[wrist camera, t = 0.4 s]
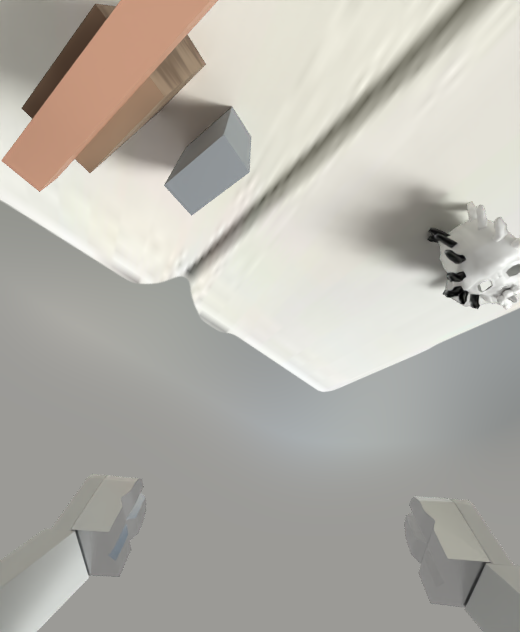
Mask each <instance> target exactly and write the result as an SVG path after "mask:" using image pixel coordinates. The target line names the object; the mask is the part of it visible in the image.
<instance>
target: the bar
mask: <svg viewBox="0 0 520 632" xmlns="http://www.w3.org/2000/svg"><path fill="white" fill-rule="evenodd" d="M217 1H218V0H121V1H120V2H119V3H118V5H117V6H116V8H115V9H114V10H113V12H112V13H111V14H110V16H109V17H108V18H107V20H106V21H105V22H104V24H103V25H102V26H101V28H100V29H99V30H98V32H97V33H96V34H95V36H94V37H93V38H92V40H91V41H90V42H89V44H88V45H87V46H86V48H85V49H84V50H83V52H82V53H81V54H80V56H79V57H78V59H77V60H76V61H75V63H74V64H73V65H72V67H71V68H70V69H69V71H68V72H67V73H66V75H65V76H64V77H63V79H62V80H61V81H60V83H59V84H58V85H57V87H56V88H55V89H54V91H53V92H52V93H51V95H50V96H49V97H48V99H47V100H46V101H45V103H44V104H43V106H42V107H41V108H40V110H39V111H38V112H37V114H36V115H35V116H34V118H33V119H32V120H31V122H30V123H29V124H28V126H27V127H26V128H25V130H24V131H23V132H22V134H21V135H20V136H19V138H18V139H17V140H16V142H15V143H14V144H13V146H12V147H11V148H10V150H9V151H8V152H7V154H6V155H5V157H4V158H3V159H2V162H4V163H5V164H6V165H7V166H9V167H10V168H11V169H12V170H13V171H15V172H16V173H17V174H18V175H20V176H21V177H22V178H23V179H25V180H26V181H27V182H28V183H29V184H31V185H32V186H33V187H34V188H36V189H37V190H38V191H39V192H40V191H41V190H42V189H44V188H45V187H46V186H48V185H49V184H50V183H52V182H53V181H54V180H55V179H57V178H58V177H59V175H60V174H61V173H62V172H63V171H64V170H65V169H66V168H67V167H68V165H69V164H70V163H71V162H72V161H73V160H74V159H75V158H76V157H77V156H78V154H79V153H80V152H81V151H82V150H83V149H84V148H85V147H86V146H87V144H88V143H89V142H90V141H91V140H92V139H93V138H94V137H95V136H96V135H97V133H98V132H99V131H100V130H101V129H102V128H103V127H104V126H105V125H106V124H107V122H108V121H109V120H110V119H111V118H112V117H113V116H114V115H115V114H116V112H117V111H118V110H119V109H120V108H121V107H122V106H123V105H124V104H125V103H126V101H127V100H128V99H129V98H130V97H131V96H132V95H133V94H134V93H135V91H136V90H137V89H138V88H139V87H140V86H141V85H142V84H143V83H144V82H145V80H146V79H147V78H148V77H149V76H150V75H151V74H152V73H153V72H154V71H155V69H156V68H157V67H158V66H159V65H160V64H161V63H162V62H163V61H164V59H165V58H166V57H167V56H168V55H169V54H170V53H171V52H172V51H173V50H174V48H175V47H176V46H177V45H178V44H179V43H180V42H181V41H182V40H183V38H184V37H185V36H186V35H187V34H188V33H189V32H190V31H191V30H192V29H193V27H194V26H195V25H196V24H197V23H198V22H199V21H200V20H201V19H202V18H203V16H204V15H205V14H206V13H207V12H208V11H209V10H210V9H211V8H212V6H213V5H214V4H215V3H216V2H217Z"/></svg>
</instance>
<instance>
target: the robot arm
mask: <svg viewBox="0 0 520 632" xmlns="http://www.w3.org/2000/svg"><path fill="white" fill-rule="evenodd" d="M142 489H143V482H142V479H139V478H129V477H119V476H109V475H96V474H92V475H91V476H89V477H88V478H87V479H86V480H85V482H84V483H83V484H82V486H81V487H80V489H79V490H78V491H77V493H76V494H75V496H74V497H73V498H72V500H71V501H70V503H69V504H68V505H67V507H66V508H65V510H64V511H63V512H62V514H61V515H60V516H59V518H58V519H57V521H56V522H55V524H54V525H53V526H52V528H51V529H45V530H43V531H41V532H40V533H39V534H37V535H36V536H34V537H33V538H32V539H30V540H28V541H27V542H26V543H24V544H23V545H21V546H20V547H18V548H17V549H16V550H14V551H13V552H11V553H10V554H9V555H7V556H6V557H4V558H3V559H1V560H0V632H37V631H38V629H40V628H41V627H42V625H43V624H44V623H45V622H46V621H47V620H48V619H49V618H50V617H51V616H52V615H53V614H54V613H55V612H56V611H57V610H58V609H59V608H60V607H61V606H62V605H63V604H64V603H65V602H66V601H67V600H68V599H69V598H70V597H71V596H72V594H73V593H74V592H75V591H76V590H77V589H78V588H79V587H80V586H81V585H82V584H83V583H84V582H85V581H86V580H87V579H88V578H89V576H88V575H93V576H112V577H119V576H120V574H121V572H122V570H123V568H124V565H125V563H126V561H127V558H128V556H129V554H130V551H131V545H130V540H131V539H132V538H133V537H134V536H135V535H137V534H138V533H139V530H140V528H141V526H142V523H143V520H144V515H145V512H146V499H145V496H144V495H143V494H142V493H141V491H142ZM410 508H411V510H412V512H411V513H409V514H408V515H407V516H406V520H405V524H404V526H405V536H406V540H407V544H408V547H409V549H410V552H411V554H412V555H413V556H414V558H416V559H417V561H418V562H420V569H419V575H420V578H421V581H422V583H423V586H424V588H425V590H426V593H427V596H428V598H429V601H430V603H431V604H440V605H448V606H456V607H465V611H466V612H467V613H468V614H469V615H470V617H471V618H472V619H473V620H474V621H475V623H476V624H477V625H478V626H479V627H480V629H481V630H482V631H483V632H520V566H518V565H514V564H513V563H512V561H511V560H510V558H509V557H508V555H507V554H506V552H505V551H504V550H503V548H502V546H501V545H500V543H499V542H498V541H497V539H496V538H495V536H494V535H493V533H492V532H491V530H490V529H489V527H488V526H487V524H486V523H485V521H484V520H483V518H482V517H481V515H480V514H479V512H478V511H477V509H476V508H475V506H474V505H473V504H472V503H471V502H470V501H469V500H459V499H448V498H432V497H413V498H412V499H411V501H410Z"/></svg>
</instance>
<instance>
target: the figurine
mask: <svg viewBox="0 0 520 632" xmlns="http://www.w3.org/2000/svg"><path fill="white" fill-rule="evenodd" d="M467 210H468V216H469V220H468V221H466V222H464V223H462V224H461V225H459V226H457V227H456V228H454V229H453V230H452V231H450V232H449V233H448V234H447V233H445V232H443V231H441V230H438V229H435V228H430V229H429V231H428V232H429V233H431V234H432V235H431V236H430V237H429V238H428V239H427V240H429V241H431V242H432V241H434V242H437V243H439V245H440V252H441V254H440V260H441V262H442V265H443V267H444V269H445V270H446V271H447V273H448V274H447V278H448V281H447V283H446V287H445V291H444V293H443V295H445V296H446V297H449V298H452V299H453V300H455V301H457V302H458V303H460V304H462V305H463V306H465V307H467V306H471V307H472V308H476V309H478V308H479V306H480V305H483V304H488V303H491V304H494V303H497V304H499V305H502V306H503V307H504V308H505V309H508V308H510V307H511V301H512V302H514V303H516V302H518V297H517V296H516V295H517V294H518V293H519V292H520V237H519V238H515V237H514V236H513V235H512V234H511V233H510V232H509V231H508V230H507V226H506V225H507V224H506V223H505V222H504V220H503V219H502V217H498V218H496V219H495V221H494V222H493V221H490V220H487V217H486V211H485V208H484V206H483V205H479V206H478V207H477V206H476V207H475V205H474V203H473V202H469V203H468V204H467ZM488 280H489V281H491V283H492V285H491V286H490V287H489V288H487V289H486V290H485V291H482V290H481V287H480V285H479V284H481V283H482V282H485V281H488ZM507 285H508V286H507ZM502 287H503V288H502ZM501 288H502V289H501Z"/></svg>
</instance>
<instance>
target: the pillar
mask: <svg viewBox="0 0 520 632" xmlns="http://www.w3.org/2000/svg"><path fill="white" fill-rule="evenodd" d="M115 8H116V6H109V5H101V4H95V5H94V6H93V8H92V9H91V11H90V12H89V13H88V15H87V16H86V18H85V19H84V21H83V22H82V23H81V25H80V26H79V28H78V29H77V30H76V32H75V33H74V35H73V36H72V38H71V39H70V40H69V42H68V43H67V45H66V46H65V47H64V49H63V50H62V52H61V53H60V55H59V56H58V57H57V59H56V60H55V62H54V63H53V64H52V66H51V67H50V69H49V70H48V71H47V73H46V74H45V76H44V77H43V79H42V80H41V81H40V83H39V84H38V86H37V87H36V88H35V90H34V91H33V93H32V94H31V96H30V97H29V98H28V100H27V101H26V103H25V104H24V105H23V107H22V109H23V110H24V111H25V112H26V113H27V114H28V115H29V116H30V117H31V118H32V119H33V118H34V116H35V115H36V114H37V112H38V111H39V110H40V108H41V107H42V106H43V104H44V103H45V101H46V100H47V99H48V97H49V96H50V95H51V93H52V92H53V91H54V89H55V88H56V87H57V85H58V84H59V83H60V81H61V80H62V79H63V77H64V76H65V75H66V73H67V72H68V71H69V69H70V68H71V67H72V65H73V64H74V63H75V61H76V60H77V59H78V57H79V56H80V54H81V53H82V52H83V50H84V49H85V48H86V46H87V45H88V44H89V42H90V41H91V40H92V38H93V37H94V36H95V34H96V33H97V32H98V30H99V29H100V28H101V26H102V25H103V24H104V22H105V21H106V20H107V18H108V17H109V16H110V14H111V13H112V12H113V10H114V9H115ZM205 65H206V64H205V62H204V60H203V59H202V57H201V56H200V54H199V52H198V51H197V49H196V48H195V46H194V44H193V43H192V41H191V40H190V38H189V36H188V35H186V36H185V37H184V38H183V40H182V41H181V42H180V43H179V44H178V45H177V46H176V47H175V48H174V50H173V51H172V52H171V53H170V54H169V55H168V56H167V57H166V58H165V59H164V61H163V62H162V63H161V64H160V65H159V66H158V67H157V68H156V69H155V71H154V72H153V73H152V74H151V75H150V76H149V77H148V78H147V79H146V80H145V82H144V83H143V84H142V85H141V86H140V87H139V88H138V89H137V90H136V91H135V93H134V94H133V95H132V96H131V97H130V98H129V99H128V100H127V101H126V103H125V104H124V105H123V106H122V107H121V108H120V109H119V110H118V111H117V112H116V114H115V115H114V116H113V117H112V118H111V119H110V120H109V121H108V122H107V124H106V125H105V126H104V127H103V128H102V129H101V130H100V131H99V132H98V133H97V135H96V136H95V137H94V138H93V139H92V140H91V141H90V142H89V143H88V144H87V146H86V147H85V148H84V149H83V150H82V151H81V152H80V153H79V154H78V156H77V157H76V158H75V159H76V160H77V161H78V162H79V163H80V164H81V165H82V166H83V167H84V168H85V169H86V170H87V171H88V172H89V173H91V172H92V171H93V170H94V169H95V168H96V167H98V166H99V165H100V164H101V163H102V162H103V161H104V160H105V159H106V158H108V157H109V156H110V155H111V154H112V153H113V152H114V151H115V150H117V149H118V148H119V147H120V146H121V145H122V144H123V143H124V142H126V141H127V140H128V139H129V138H130V137H131V136H132V135H133V134H134V133H136V132H137V131H138V130H139V129H140V128H141V127H142V126H143V125H145V124H146V123H147V122H148V121H149V120H150V119H151V118H152V117H154V116H155V115H156V114H157V113H158V112H159V111H160V110H161V109H162V108H163V107H164V106H165V105H166V104H167V103H168V102H169V101H170V100H171V99H172V98H173V97H174V96H175V95H176V94H177V93H178V92H179V91H180V90H181V89H182V88H183V87H184V86H185V85H186V84H187V83H188V82H189V81H190V80H191V79H192V78H193V77H194V76H195V75H196V74H197V73H198V72H199V71H200V70H201V69H202V68H203V67H204V66H205Z"/></svg>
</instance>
